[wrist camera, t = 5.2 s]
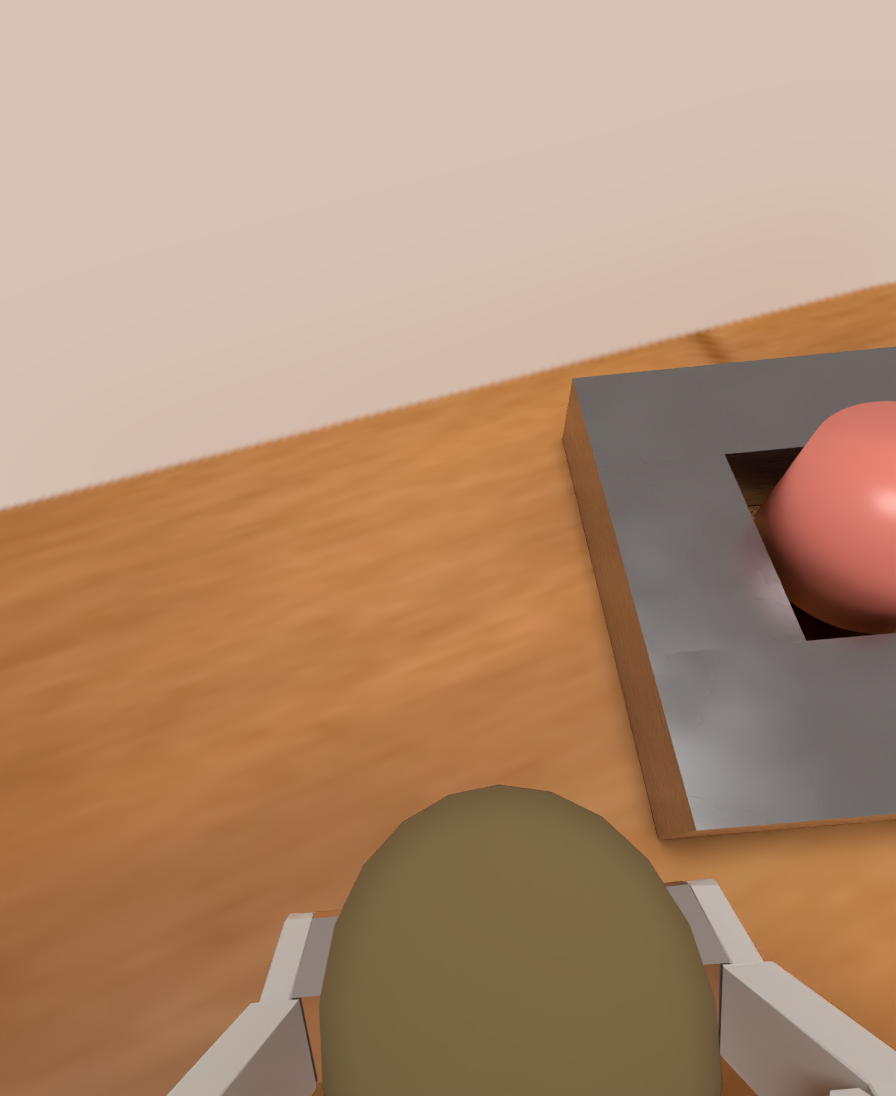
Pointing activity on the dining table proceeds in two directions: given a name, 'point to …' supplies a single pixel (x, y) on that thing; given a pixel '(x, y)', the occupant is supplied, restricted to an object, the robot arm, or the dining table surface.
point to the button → (839, 521)
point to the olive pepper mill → (514, 962)
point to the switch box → (728, 596)
